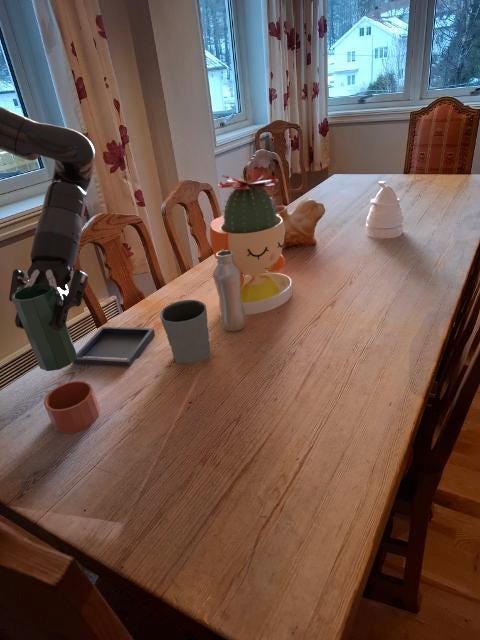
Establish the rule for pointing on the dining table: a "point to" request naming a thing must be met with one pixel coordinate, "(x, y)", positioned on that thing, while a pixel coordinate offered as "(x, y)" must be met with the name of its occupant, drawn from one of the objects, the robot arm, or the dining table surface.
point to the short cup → (72, 406)
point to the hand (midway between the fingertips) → (39, 328)
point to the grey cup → (187, 331)
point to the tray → (115, 346)
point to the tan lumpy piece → (301, 222)
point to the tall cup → (43, 327)
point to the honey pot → (385, 214)
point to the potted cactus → (253, 241)
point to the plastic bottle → (229, 292)
